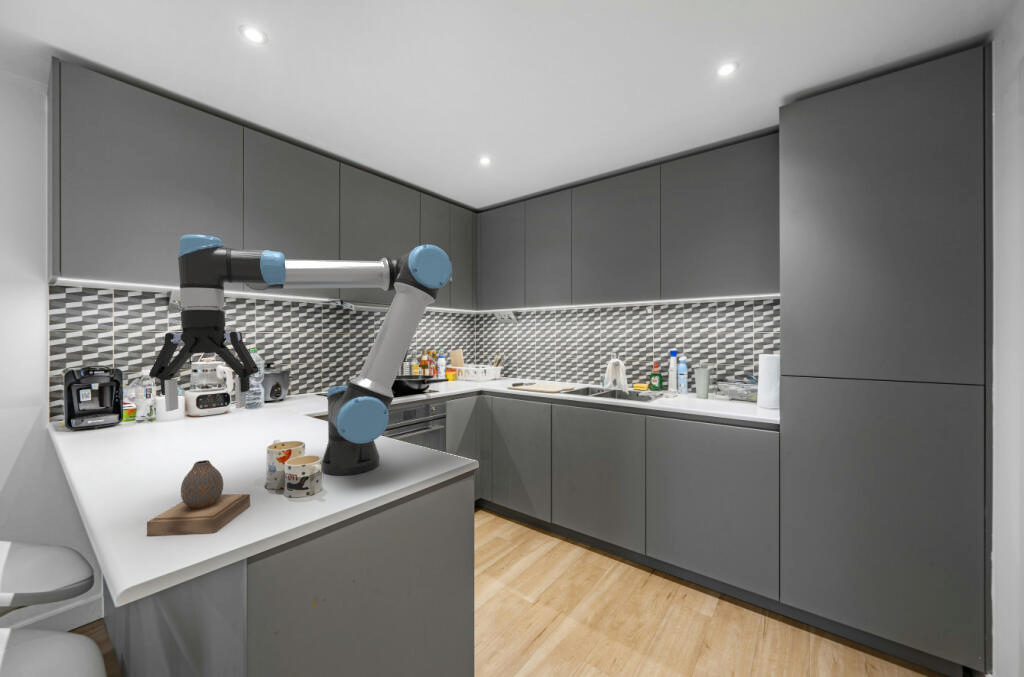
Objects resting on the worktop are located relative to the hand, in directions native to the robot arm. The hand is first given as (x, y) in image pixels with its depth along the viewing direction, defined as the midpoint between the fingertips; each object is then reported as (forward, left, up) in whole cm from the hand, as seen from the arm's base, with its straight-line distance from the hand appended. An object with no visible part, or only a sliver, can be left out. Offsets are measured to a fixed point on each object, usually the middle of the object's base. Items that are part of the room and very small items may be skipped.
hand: (207, 408), depth 88 cm
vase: (-2, +5, -19) cm, 20 cm away
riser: (-2, +5, -22) cm, 22 cm away
